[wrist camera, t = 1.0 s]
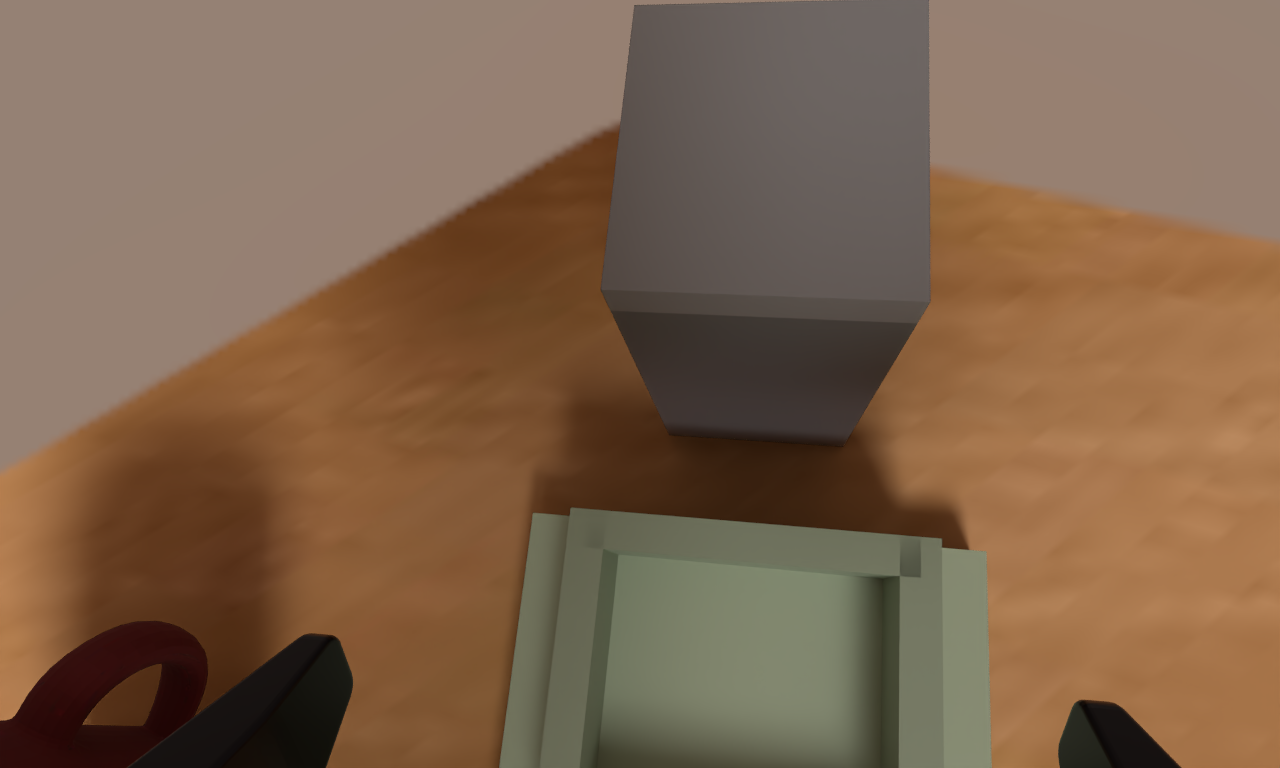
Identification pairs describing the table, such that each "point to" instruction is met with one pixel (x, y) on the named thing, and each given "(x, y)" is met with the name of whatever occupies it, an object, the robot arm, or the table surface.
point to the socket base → (746, 647)
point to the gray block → (771, 211)
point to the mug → (65, 695)
